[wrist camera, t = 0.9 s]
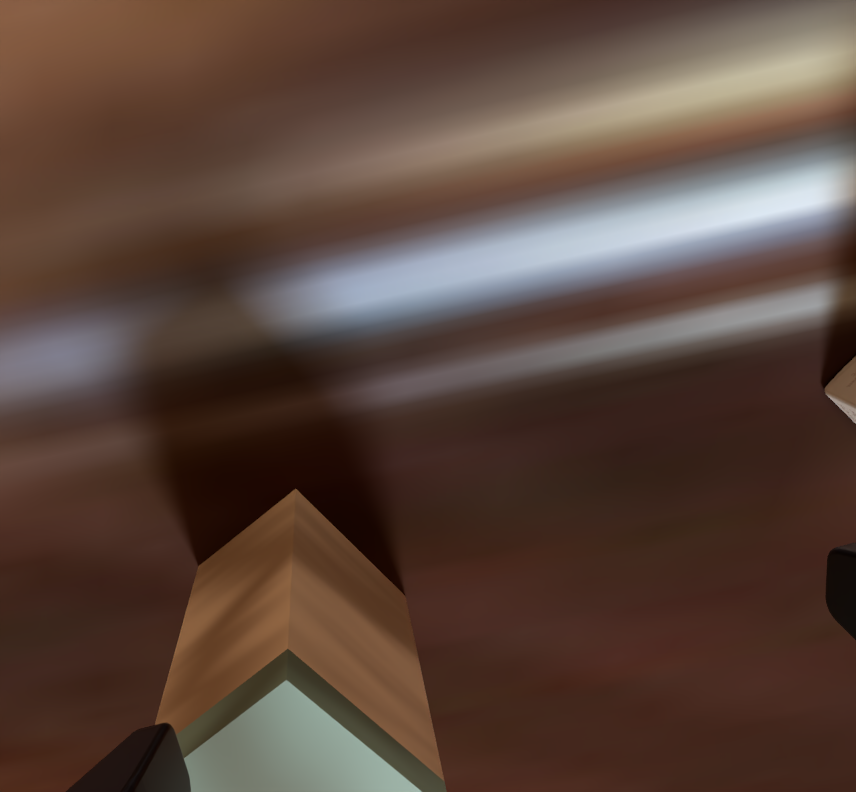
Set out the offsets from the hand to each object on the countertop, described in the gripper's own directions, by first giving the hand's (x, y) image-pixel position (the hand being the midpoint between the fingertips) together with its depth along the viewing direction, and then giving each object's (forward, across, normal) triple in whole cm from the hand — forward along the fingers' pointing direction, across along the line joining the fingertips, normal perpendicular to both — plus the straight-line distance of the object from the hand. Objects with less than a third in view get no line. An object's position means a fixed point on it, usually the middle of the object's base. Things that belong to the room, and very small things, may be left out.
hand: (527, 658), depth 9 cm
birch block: (+15, -4, -7) cm, 17 cm away
